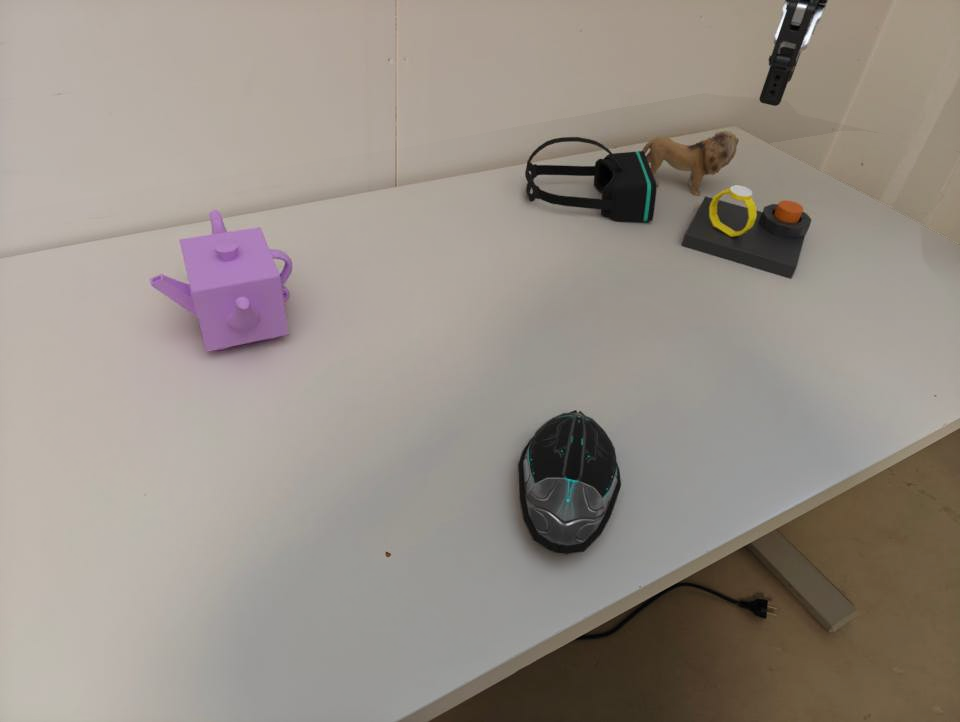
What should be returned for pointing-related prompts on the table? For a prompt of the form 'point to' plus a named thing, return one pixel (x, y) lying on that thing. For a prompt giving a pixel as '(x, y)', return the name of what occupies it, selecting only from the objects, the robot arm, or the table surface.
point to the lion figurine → (693, 156)
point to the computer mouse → (568, 483)
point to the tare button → (788, 211)
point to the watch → (738, 194)
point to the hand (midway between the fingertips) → (774, 91)
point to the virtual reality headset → (603, 183)
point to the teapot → (231, 286)
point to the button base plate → (749, 237)
